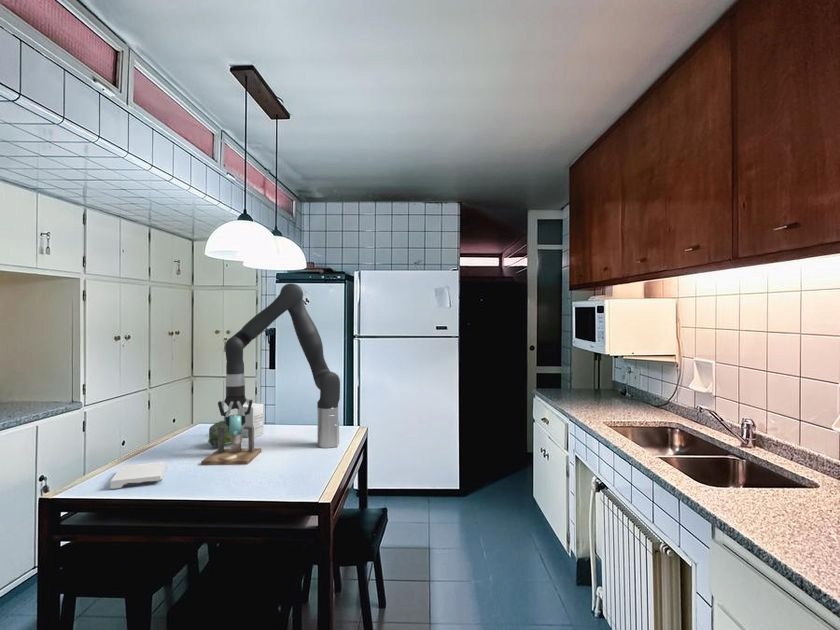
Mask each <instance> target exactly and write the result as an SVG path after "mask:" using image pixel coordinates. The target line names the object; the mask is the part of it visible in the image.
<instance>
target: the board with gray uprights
mask: <svg viewBox="0 0 840 630" xmlns="http://www.w3.org/2000/svg"><path fill="white" fill-rule="evenodd" d="M224 429H228V426H220V427H218V448H217V450H215V451H214V452H213V453H211V454H210V455H208V456H206V457H205V458H204V459H203V460H201V462H200V465H201V466H232V465H233V466H234V465H235V466H240V465H241V466H245V465H249V464H250V463H251V462H252V461H254V459H255V458H257V457H258V456H259V455H260V454H261V453H262V447H257V448H255V437H254V426H245V427H244V429H248V438H247V439H248V440H247V441H248V442H247V447H248V448H242V442H241V433H238V434H237V435H234V434H231V442H230V448H225V444H224Z"/></svg>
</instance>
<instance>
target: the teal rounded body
mask: <svg viewBox="0 0 840 630" xmlns="http://www.w3.org/2000/svg"><path fill="white" fill-rule="evenodd" d="M229 433H230V434H234V435H237V434H238V433H242V415H239V414H238V413H234V414H229Z"/></svg>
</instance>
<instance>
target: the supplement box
mask: <svg viewBox="0 0 840 630" xmlns="http://www.w3.org/2000/svg"><path fill="white" fill-rule="evenodd" d="M264 405H265V404H264V403H255V402H254V403H253V402H252V406H251V410H250V414H247V415H246V416H245V424H244V425H242V433H241V436H242V437H243V438H247V439H248V429H244V427H245V426H254V438H257V437H259V436H261V435H263V434H264V431H265V429H264V419H265V418H264V417H265V415H264V410H265V409H264ZM243 408H244V411H245V412H246V411H247V409H248V404H247V403H244V405H243ZM237 414H239V415H242V413H241V411H240V409H237ZM264 435H265V434H264Z"/></svg>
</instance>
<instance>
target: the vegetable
mask: <svg viewBox="0 0 840 630" xmlns="http://www.w3.org/2000/svg"><path fill="white" fill-rule="evenodd" d="M220 426H227V425H226V420H219V421H218V422H215V423H214V424H212V425H211V426H210V427H209V429H208V443H209V444H210V445H211V446H214V447H215V448H217V449H218V427H220ZM243 438H244V437H242V436H241V443H242V441H243ZM229 443H231V434H230V433H229V426H228V429H224V445H225V444H229Z"/></svg>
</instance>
